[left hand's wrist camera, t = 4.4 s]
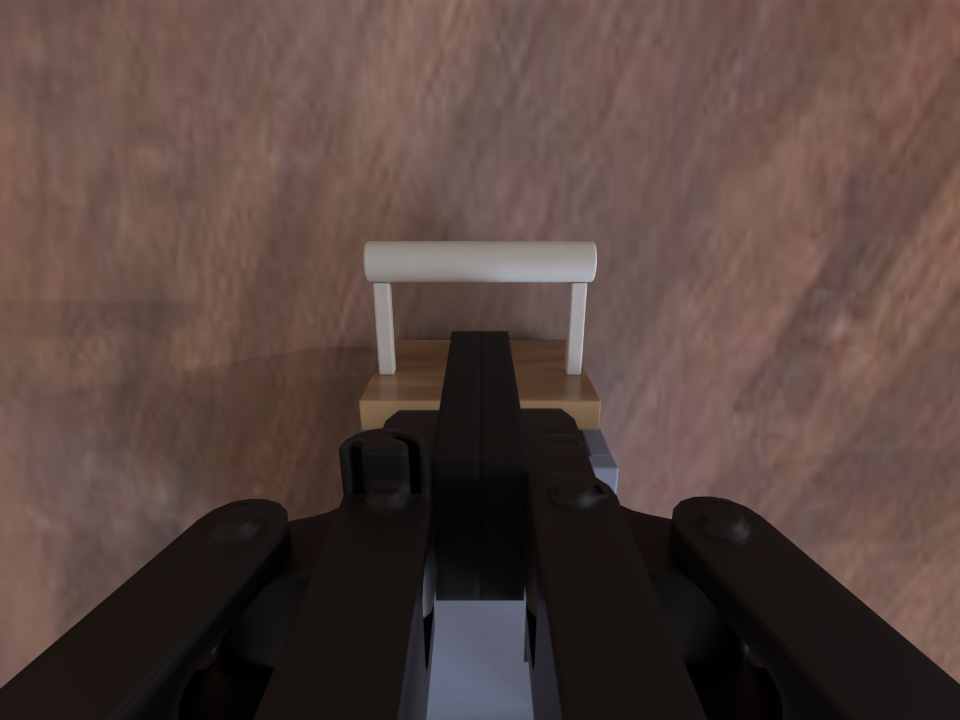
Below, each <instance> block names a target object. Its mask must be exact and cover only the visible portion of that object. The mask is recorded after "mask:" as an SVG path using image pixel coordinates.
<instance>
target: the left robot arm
mask: <svg viewBox="0 0 960 720" xmlns="http://www.w3.org/2000/svg"><path fill="white" fill-rule="evenodd" d="M339 455H340V465H341V474H342V484H343V493H344V496H343V499H342V501H341V504H340V506H339V508H337V509H335V510H333V511H331V512H328V513H325V514H321V515H317V516H314V517H309V518H304V519H299V520H294V521H289V522H288V515H287V511H286V510H285V509H284V508H283V507H282V506H281V505H280V504H279V503H276V502H273V501H270V500H267V499H248V500H242V501H236V502H231V503H229V504H227V505H224V506H222V507H219V508H217V509H214V510H212V511H211V512H209V513H208V514H206V515H205V516H203V517H202V518H200V519H199V520H197V521H196V522H195V523H194V524H193V525H192V526H190V527H189V528H188V529H187V530H186V531H185V532H183V533H182V534H181V535H180V536H179V537H178V538H176V539H175V540H174V541H173V542H172V543H171V544H169V545H168V546H167V547H166V548H165V549H163V550H162V551H161V552H160V553H159V554H158V555H156V556H155V557H154V558H153V559H152V560H151V561H149V562H148V563H147V564H146V565H145V566H144V567H142V568H141V569H140V570H139V571H138V572H137V573H135V574H134V575H133V576H132V577H131V578H130V579H128V580H127V581H126V582H125V583H124V584H122V585H121V586H120V587H119V588H118V589H117V590H115V591H114V592H113V593H112V594H111V595H110V596H108V597H107V598H106V599H105V600H104V601H103V602H101V603H100V604H99V605H98V606H97V607H96V608H94V609H93V610H92V611H91V612H90V613H89V614H87V615H86V616H85V617H84V618H83V619H81V620H80V621H79V622H78V623H77V624H76V625H74V626H73V627H72V628H71V629H70V630H69V631H67V632H66V633H65V634H64V635H63V636H62V637H60V638H59V639H58V640H57V641H56V642H55V643H53V644H52V645H51V646H50V647H49V648H48V649H46V650H45V651H44V652H43V653H42V654H40V655H39V656H38V657H37V658H36V659H35V660H33V661H32V662H31V663H30V664H29V665H28V666H26V667H25V668H24V669H23V670H22V671H21V672H19V673H18V674H17V675H16V676H15V677H14V678H12V679H11V680H10V681H9V682H8V683H7V684H5V685H4V686H3V687H2V688H1V689H0V720H426V718H427V707H428V696H429V686H430V675H431V664H432V653H433V643H434V632H435V614H434V598H435V591H436V601H524V591H525V595H526V614H525V640H524V662H528V663H529V674H530V685H531V695H532V706H533V717H534V720H960V684H959V683H958V682H956V681H955V680H954V679H953V678H952V677H950V676H949V675H948V674H947V673H946V672H945V671H943V670H942V669H941V668H940V667H939V666H937V665H936V664H935V663H934V662H933V661H932V660H930V659H929V658H928V657H927V656H926V655H924V654H923V653H922V652H921V651H920V650H919V649H917V648H916V647H915V646H914V645H913V644H911V643H910V642H909V641H908V640H907V639H906V638H904V637H903V636H902V635H901V634H900V633H898V632H897V631H896V630H895V629H894V628H893V627H891V626H890V625H889V624H888V623H887V622H885V621H884V620H883V619H882V618H881V617H880V616H878V615H877V614H876V613H875V612H874V611H872V610H871V609H870V608H869V607H868V606H867V605H865V604H864V603H863V602H862V601H861V600H859V599H858V598H857V597H856V596H855V595H854V594H852V593H851V592H850V591H849V590H848V589H846V588H845V587H844V586H843V585H842V584H841V583H839V582H838V581H837V580H836V579H835V578H833V577H832V576H831V575H830V574H829V573H828V572H826V571H825V570H824V569H823V568H822V567H820V566H819V565H818V564H817V563H816V562H815V561H813V560H812V559H811V558H810V557H809V556H807V555H806V554H805V553H804V552H803V551H802V550H800V549H799V548H798V547H797V546H796V545H794V544H793V543H792V542H791V541H790V540H789V539H787V538H786V537H785V536H784V535H783V534H781V533H780V532H779V531H778V530H777V529H776V528H774V527H773V526H772V525H771V524H770V523H768V522H767V521H766V520H765V519H764V518H763V517H761V516H760V515H758V514H757V513H755V512H754V511H752V510H750V509H749V508H747V507H745V506H743V505H740V504H738V503H735V502H732V501H730V500H727V499H723V498H718V497H692V498H689V499H686V500H683V501H680V503H679V504H678V505H677V506H676V507H675V508H674V509H673V515H672V519H668V518H663V517H658V516H653V515H648V514H644V513H640V512H637V511H633V510H630V509H628V508H626V507H623V506H621V505H620V503H619V500H618V498H617V496H616V494H615V493H614V491H613V490H612V489H611V487H610V486H609V485H607V484H606V483H604V482H603V481H601V480H600V479H598V478H596V476H595V473H594V470H593V468H592V465H591V462H590V459H589V457H588V454H587V451H586V449H585V446H584V445H583V440H582V438H581V435H580V434H579V430H578V427H577V424H576V421H575V419H574V418H573V417H571V416H570V415H569V414H568V413H566V412H565V411H564V410H563V409H561V408H521V407H520V401H519V395H518V389H517V383H516V377H515V371H514V365H513V359H512V353H511V347H510V341H509V334H508V331H452V334H451V341H450V347H449V353H448V359H447V365H446V371H445V377H444V383H443V389H442V395H441V401H440V407H439V410H398V411H397V412H396V413H395V414H393V415H392V416H391V417H390V418H388V419H387V420H386V421H385V424H384V426H383V428H379V429H372V430H368V431H365V432H361V433H358V434H356V435H354V436H353V437H351V438H349V439H347V440H346V441H345V442H344V443H343V444H342V445H341V446H340V448H339Z"/></svg>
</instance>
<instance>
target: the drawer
mask: <svg viewBox="0 0 960 720" xmlns="http://www.w3.org/2000/svg"><path fill="white" fill-rule="evenodd" d="M363 264H364V272H365V276H366V279H367V281H368V282H374V283H373V292H374V306H375V321H376V335H377V349H378V365H377V367H376V369H375V371H374V373H373V375H372V377H371V379H370V381H369V383H368V385H367V386H366V388H365V390H364V392H363V394H362V396H361V398H360V400H359V409H360V420H361V429H362V430H372V429H379V428H383V426H384V424H385V421H386V420H387V419H388V418H390V417H391V416H392V415H393V414H395V413H396V412H397V411H398V410H439V407H440V401H441V395H442V389H443V383H444V377H445V371H446V365H447V359H448V353H449V347H450V341H451V340H394V330H393V313H392V296H391V282H569V296H568V313H567V330H566V340H509V341H510V347H511V353H512V359H513V365H514V371H515V377H516V383H517V389H518V395H519V401H520V407H521V408H561V409H563V410H564V411H565V412H566V413H568V414H569V415H570V416H571V417H573V418H574V419H575V421H576V424H577V427H578V430H598V429H599V421H600V409H601V400H600V398H599V396H598V394H597V392H596V390H595V388H594V386H593V384H592V382H591V380H590V379H589V377H588V375H587V373H586V371H585V369H584V367H583V365H582V349H583V335H584V321H585V307H586V292H587V283H586V282H591V281H593V279H594V276H595V272H596V264H597V252H596V246H595V243H594V242H593V241H367V242H366V243H365V246H364V253H363Z"/></svg>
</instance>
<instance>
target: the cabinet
mask: <svg viewBox="0 0 960 720" xmlns="http://www.w3.org/2000/svg"><path fill="white" fill-rule="evenodd" d="M365 431H368V430H362V429H361V426H360V429H359V431H358V433H361V432H365ZM358 433H357V434H358ZM579 434H580V435H581V438H582V440H583V445H584V446H585V449H586V451H587V454H588V457H589V459H590V462H591V465H592V468H593V470H594V473H595V476H596V478H598V479H600V480H601V481H603V482H604V483H606V484H607V485H609V486H610V487H611V489H612V490H613V491H614V493H615V494H616V488H617V479H618V466H617V464H616V462H615V460H614V457H613V456H612V453H611V451H610V449H609V447H608V444H607V442H606V440H605V438H604V436H603V433H602V431H601V429H600V427H599V429H598V430H579ZM434 614H435V632H434V643H433V653H432V664H431V675H430V686H429V696H428V707H427V718H426V720H534V717H533V706H532V695H531V685H530V674H529V663H528V662H524V640H525V614H526V595H525V591H524V601H436V591H435V598H434Z"/></svg>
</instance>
